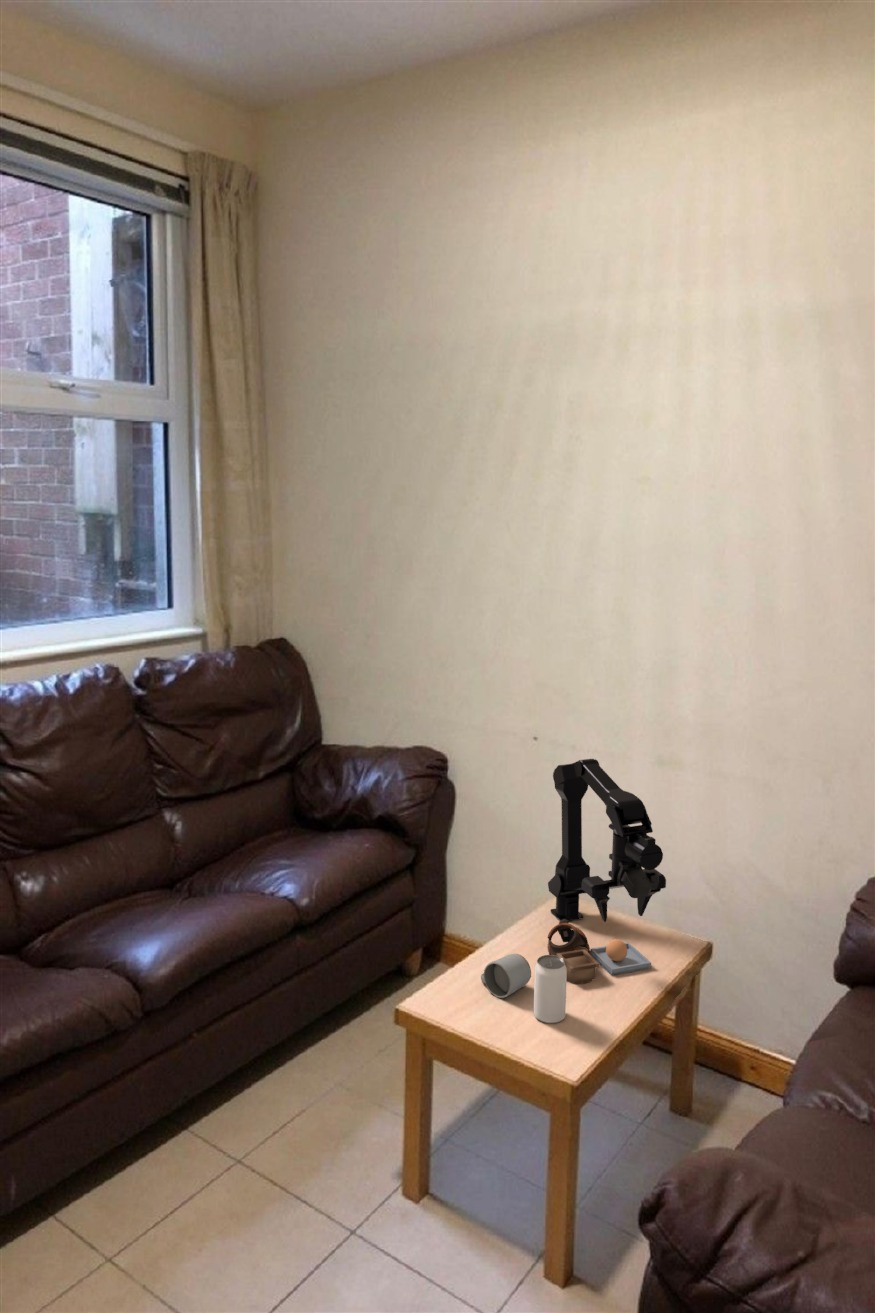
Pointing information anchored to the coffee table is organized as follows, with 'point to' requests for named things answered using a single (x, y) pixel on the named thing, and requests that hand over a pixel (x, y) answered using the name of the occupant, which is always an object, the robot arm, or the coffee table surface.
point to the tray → (627, 965)
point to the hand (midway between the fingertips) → (622, 918)
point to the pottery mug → (567, 938)
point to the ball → (616, 950)
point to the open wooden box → (579, 966)
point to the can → (550, 989)
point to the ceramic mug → (506, 975)
